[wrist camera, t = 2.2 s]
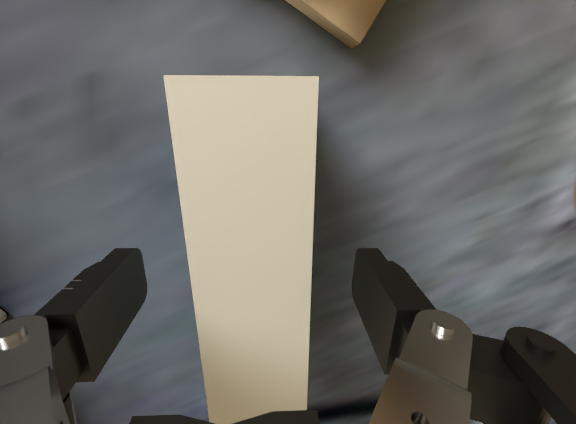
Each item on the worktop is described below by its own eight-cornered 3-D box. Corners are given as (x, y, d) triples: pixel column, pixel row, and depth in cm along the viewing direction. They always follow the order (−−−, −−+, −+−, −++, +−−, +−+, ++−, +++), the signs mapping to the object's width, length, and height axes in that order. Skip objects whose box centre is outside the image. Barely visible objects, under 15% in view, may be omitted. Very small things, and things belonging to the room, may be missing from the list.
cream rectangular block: (297, 89, 15) (320, 76, 8) (294, 310, 20) (307, 434, 13) (217, 88, 15) (161, 75, 7) (234, 312, 20) (210, 438, 12)
